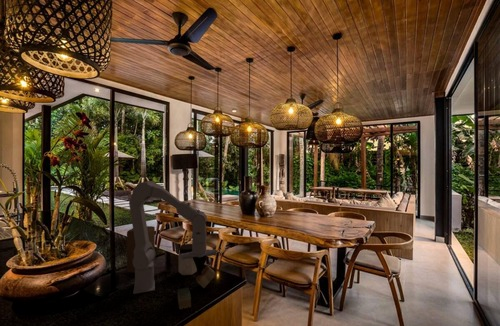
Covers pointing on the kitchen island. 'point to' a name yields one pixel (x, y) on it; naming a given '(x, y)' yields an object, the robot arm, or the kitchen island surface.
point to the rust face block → (205, 276)
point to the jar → (186, 261)
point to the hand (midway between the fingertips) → (199, 274)
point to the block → (132, 245)
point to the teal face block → (184, 298)
